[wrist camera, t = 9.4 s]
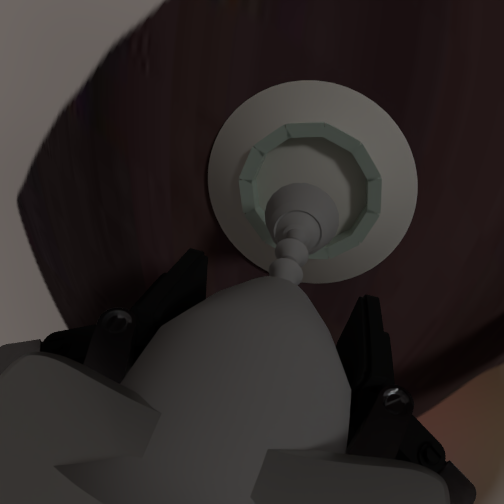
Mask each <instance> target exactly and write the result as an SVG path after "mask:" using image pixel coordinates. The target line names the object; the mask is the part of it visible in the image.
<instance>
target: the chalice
mask: <svg viewBox="0 0 504 504" xmlns="http://www.w3.org/2000/svg"><path fill="white" fill-rule="evenodd" d="M265 222H266V226H267V228H268V230H269V233H270V235H271V237H272V239H273V242H274V243H275V244H276V248H275V256H276V258H277V259H276V260H275V261H273V262H272V263H271V265H270V267H269V275H270V276H265V277H260V278H255V279H253V280H250V281H247V282H244V283H241V284H239V285H236V286H233V287H230V288H227V289H224V290H221V291H218V292H217V293H215V294H213V295H212V296H210V297H208V298H207V299H205V300H203V301H202V302H200V303H198V304H197V305H195V306H193V307H192V308H190V309H188V310H187V311H185V312H183V313H182V314H180V315H178V316H177V317H175V318H173V319H172V320H170V321H169V322H167V323H165V324H164V325H162V326H161V327H160V328H159V330H158V331H157V332H156V334H155V335H154V337H153V338H152V339H151V341H150V342H149V344H148V345H147V346H146V348H145V349H144V351H143V352H142V353H141V355H140V356H139V358H138V359H137V360H136V362H135V363H134V365H133V366H132V368H131V369H130V370H129V372H128V373H127V375H126V376H125V377H124V379H123V380H122V382H121V383H120V384H121V385H123V386H125V387H127V388H129V389H131V390H133V391H135V392H136V393H138V394H139V395H140V396H141V397H142V398H143V399H144V400H145V401H146V402H147V403H148V404H149V405H150V406H151V407H152V408H153V409H155V410H157V411H159V412H160V413H162V414H161V416H160V418H159V421H158V423H157V425H156V428H155V430H154V432H153V434H152V437H151V439H150V441H149V444H148V446H147V448H146V451H145V453H144V455H143V458H138V457H130V456H118V457H113V458H108V459H103V460H97V461H91V462H84V463H77V464H68V465H57V466H53V467H55V468H56V469H57V470H58V471H59V472H60V473H61V474H63V475H64V476H65V477H66V478H67V479H69V480H70V481H71V482H72V483H74V484H75V485H76V486H78V487H79V488H80V489H82V490H83V491H85V492H86V493H88V494H89V495H91V496H92V497H94V498H95V499H97V500H98V501H100V502H101V503H103V504H256V503H255V502H254V501H253V500H252V499H251V498H250V495H251V493H252V490H253V488H254V485H255V482H256V480H257V477H258V475H259V472H260V469H261V467H262V464H263V461H264V458H265V456H266V453H267V450H268V449H279V450H311V449H314V450H320V451H327V452H334V453H341V454H346V449H347V440H348V430H349V418H350V404H351V388H350V385H349V382H348V380H347V377H346V374H345V371H344V368H343V366H342V363H341V360H340V358H339V355H338V352H337V350H336V347H335V344H334V342H333V340H332V337H331V335H330V332H329V330H328V328H327V326H326V325H325V323H324V322H323V320H322V318H321V317H320V315H319V314H318V312H317V311H316V309H315V307H314V306H313V304H312V303H311V301H310V300H309V298H308V297H307V295H306V294H305V293H304V292H303V291H302V289H301V288H300V287H298V286H297V285H299V284H300V282H301V281H302V279H303V271H302V269H301V267H302V266H303V265H305V263H306V262H307V261H308V257H309V255H310V254H313V253H315V252H317V251H318V250H320V249H321V248H323V247H324V246H326V245H327V244H329V243H330V241H331V240H332V239H333V238H334V236H335V235H336V232H337V229H338V226H339V213H338V210H337V207H336V205H335V202H334V201H333V200H332V199H331V197H330V196H329V195H328V193H326V192H325V191H323V190H322V189H320V188H319V187H317V186H314V185H311V184H308V183H292V184H289V185H286V186H283V187H281V188H280V189H278V190H277V191H276V192H275V193H273V194H272V196H271V198H270V199H269V201H268V202H267V205H266V210H265Z"/></svg>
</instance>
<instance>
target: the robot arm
mask: <svg viewBox="0 0 504 504" xmlns="http://www.w3.org/2000/svg"><path fill="white" fill-rule="evenodd" d="M207 264H208V257H207V256H204V252H203V251H199V250H195V249H192V248H190V249H189V250H188V251H187V252H186V253H185V254H184V255H183V256H182V257H181V259H180V260H179V261H178V262H177V263H176V264H175V265H174V266H173V267H172V268H171V269H170V271H169V272H168V273H163V274H162V275H161V276H160V277H159V278H158V279H157V280H156V281H155V282H154V283H153V285H152V286H151V287H150V288H149V289H148V290H147V291H146V292H145V293H144V295H143V296H142V297H141V298H140V299H139V300H138V301H137V302H136V303H135V305H134V306H133V307H132V308H131V309H130V310H128V309H126V308H121V307H117V308H111V309H108V310H107V311H105V312H103V313H102V314H101V315H100V317H99V319H98V321H97V324H96V325H90V326H85V327H80V328H74V329H69V330H64V331H58V332H54V333H52V334H50V335H49V336H47V337H46V339H45V340H44V341H43V342H41V340H40V339H39V340H32V341H26V342H19V343H12V344H6V345H3V346H1V347H0V504H103V503H101V502H100V501H98V500H97V499H95V498H94V497H92V496H91V495H89V494H88V493H86V492H85V491H83V490H82V489H80V488H79V487H78V486H76V485H75V484H74V483H72V482H71V481H70V480H69V479H67V478H66V477H65V476H64V475H63V474H61V473H60V472H59V471H58V470H57V469H56V468H55V467H53V466H57V465H68V464H77V463H84V462H91V461H97V460H103V459H108V458H113V457H118V456H130V457H138V458H143V455H144V453H145V451H146V448H147V446H148V444H149V441H150V439H151V437H152V434H153V432H154V430H155V428H156V425H157V423H158V421H159V418H160V416H161V414H162V413H160V412H159V411H157V410H155V409H153V408H152V407H151V406H150V405H149V404H148V403H147V402H146V401H145V400H144V399H143V398H142V397H141V396H140V395H139V394H138V393H136V392H135V391H133V390H131V389H129V388H127V387H125V386H123V385H121V384H120V383H121V382H122V380H123V379H124V377H125V376H126V375H127V373H128V372H129V370H130V369H131V368H132V366H133V365H134V363H135V362H136V360H137V359H138V358H139V356H140V355H141V353H142V352H143V351H144V349H145V348H146V346H147V345H148V344H149V342H150V341H151V339H152V338H153V337H154V335H155V334H156V332H157V331H158V330H159V328H160V327H161V326H162V325H164V324H165V323H167V322H169V321H170V320H172V319H173V318H175V317H177V316H178V315H180V314H182V313H183V312H185V311H187V310H188V309H190V308H192V307H193V306H195V305H197V304H198V303H200V302H202V301H203V300H205V299H206V281H207ZM336 350H337V352H338V355H339V358H340V360H341V363H342V366H343V368H344V371H345V374H346V377H347V380H348V382H349V385H350V388H351V404H350V418H349V430H348V440H347V449H346V454H341V453H334V452H327V451H320V450H314V449H311V450H279V449H268V450H267V453H266V456H265V458H264V461H263V464H262V467H261V469H260V472H259V475H258V477H257V480H256V482H255V485H254V488H253V490H252V493H251V495H250V498H251V499H252V500H253V501H254V502H255V503H256V504H473V503H474V501H475V498H476V489H475V487H474V485H473V484H472V483H471V482H470V481H469V480H468V479H467V478H466V477H465V476H464V475H463V474H462V473H461V472H460V471H459V469H458V468H457V467H456V466H454V464H453V463H452V462H451V461H448V462H446V461H445V451H444V448H443V447H442V445H441V444H440V443H439V442H438V441H437V440H436V439H435V438H434V437H433V435H432V434H430V433H429V431H428V430H427V429H426V428H425V427H424V426H423V425H422V424H421V423H420V422H419V421H418V420H417V419H416V418H415V417H414V416H413V415H412V413H413V409H414V401H413V398H412V396H411V394H410V393H409V392H408V391H407V390H406V389H405V388H403V387H401V386H399V385H395V384H394V373H393V362H392V353H391V345H390V337H389V334H388V333H387V332H384V331H383V323H382V315H381V309H380V302H379V298H378V297H374V296H370V295H364V297H359V298H358V300H357V303H356V305H355V307H354V309H353V311H352V313H351V316H350V318H349V320H348V322H347V324H346V326H345V328H344V330H343V332H342V334H341V336H340V338H339V340H338V342H337V345H336Z"/></svg>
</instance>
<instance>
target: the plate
mask: <svg viewBox="0 0 504 504" xmlns="http://www.w3.org/2000/svg"><path fill="white" fill-rule="evenodd" d="M292 183H308V184H311V185H314V186H317V187H319V188H320V189H322V190H323V191H325V192H326V193H328V195H329V196H330V197H331V199H332V200H333V201H334V202H335V205H336V207H337V210H338V213H339V226H338V229H337V232H336V235H335V236H334V238H333V239H332V240H331V241H330V243H329V244H327V245H326V246H324V247H323V248H321V249H320V250H318V251H317V252H315V253H313V254H310V255H309V257H308V261H307V262H306V263H305V265H303V266H302V267H301V269H302V271H303V279H302V281H301V282H304V283H331V282H338V281H342V280H346V279H350V278H352V277H355V276H358V275H360V274H362V273H364V272H366V271H368V270H370V269H372V268H373V267H375V266H376V265H377V264H379V263H380V262H382V261H383V260H384V259H385V258H386V257H387V256H388V255H389V254H390V253H391V252H392V251H393V250H394V249H395V248H396V246H397V245H398V244H399V243H400V241H401V240H402V238H403V236H404V235H405V233H406V232H407V229H408V227H409V225H410V223H411V220H412V217H413V214H414V210H415V207H416V200H417V173H416V166H415V162H414V159H413V155H412V152H411V150H410V147H409V145H408V143H407V141H406V139H405V137H404V135H403V134H402V132H401V130H400V129H399V127H398V126H397V124H396V123H395V122H394V121H393V120H392V118H391V117H390V116H389V115H388V114H387V113H386V112H385V111H384V110H383V109H382V108H380V107H379V106H378V105H377V104H376V103H375V102H373V101H372V100H370V99H369V98H367V97H365V96H364V95H362V94H360V93H358V92H356V91H354V90H352V89H350V88H347V87H344V86H341V85H338V84H334V83H329V82H323V81H294V82H287V83H283V84H280V85H276V86H273V87H270V88H268V89H266V90H264V91H261V92H259V93H258V94H256V95H254V96H253V97H251V98H250V99H248V100H247V101H245V102H244V103H243V104H242V105H241V106H240V107H238V108H237V109H236V110H235V111H234V112H233V114H232V115H231V116H230V117H229V118H228V119H227V121H226V122H225V124H224V125H223V127H222V128H221V130H220V132H219V134H218V136H217V138H216V140H215V142H214V145H213V148H212V152H211V155H210V160H209V167H208V188H209V195H210V200H211V204H212V207H213V210H214V213H215V216H216V218H217V220H218V222H219V224H220V226H221V228H222V230H223V231H224V233H225V234H226V236H227V237H228V239H229V240H230V241H231V242H232V243H233V245H234V246H235V247H236V248H237V249H238V250H239V251H240V252H241V253H242V254H243V255H244V256H245V257H246V258H248V259H249V260H250V261H252V262H253V263H254V264H256V265H257V266H259V267H261V268H262V269H264V270H266V271H268V272H269V267H270V265H271V263H272V262H273V261H275V260H276V259H277V258H276V256H275V248H276V244H275V243H274V242H273V239H272V237H271V235H270V233H269V230H268V228H267V226H266V222H265V210H266V205H267V202H268V201H269V199H270V198H271V196H272V194H273V193H275V192H276V191H277V190H278V189H280V188H281V187H283V186H286V185H289V184H292Z"/></svg>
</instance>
